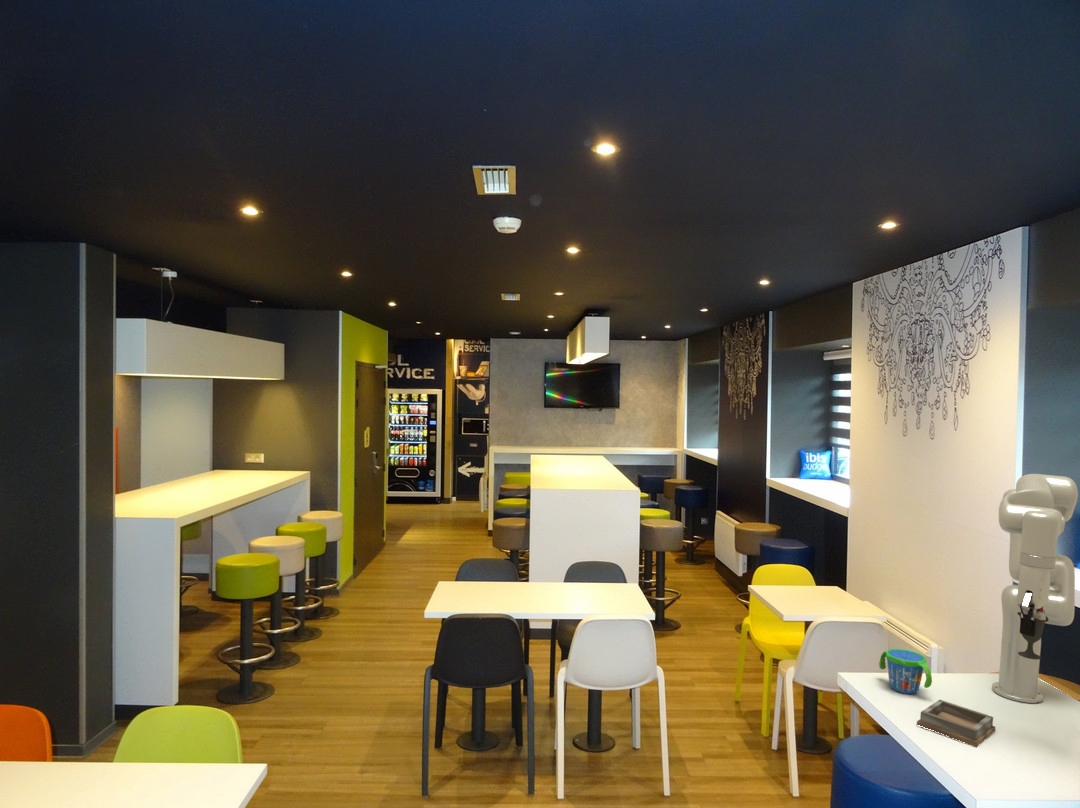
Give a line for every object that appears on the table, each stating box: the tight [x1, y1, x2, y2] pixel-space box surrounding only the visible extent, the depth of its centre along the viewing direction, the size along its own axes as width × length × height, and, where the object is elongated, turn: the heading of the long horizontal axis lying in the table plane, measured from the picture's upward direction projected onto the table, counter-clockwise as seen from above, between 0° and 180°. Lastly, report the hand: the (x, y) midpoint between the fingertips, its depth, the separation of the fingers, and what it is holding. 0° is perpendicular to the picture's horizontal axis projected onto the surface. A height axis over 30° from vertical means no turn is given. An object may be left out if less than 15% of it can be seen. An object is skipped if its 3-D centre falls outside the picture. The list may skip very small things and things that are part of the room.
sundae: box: [1017, 605, 1049, 660], centre depth 190 cm, size 7×7×15 cm
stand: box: [916, 699, 997, 748], centre depth 195 cm, size 14×14×4 cm
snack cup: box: [878, 648, 933, 695], centre depth 219 cm, size 16×10×10 cm
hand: (1031, 631), depth 190 cm, fingers closed on sundae, 6 cm apart
